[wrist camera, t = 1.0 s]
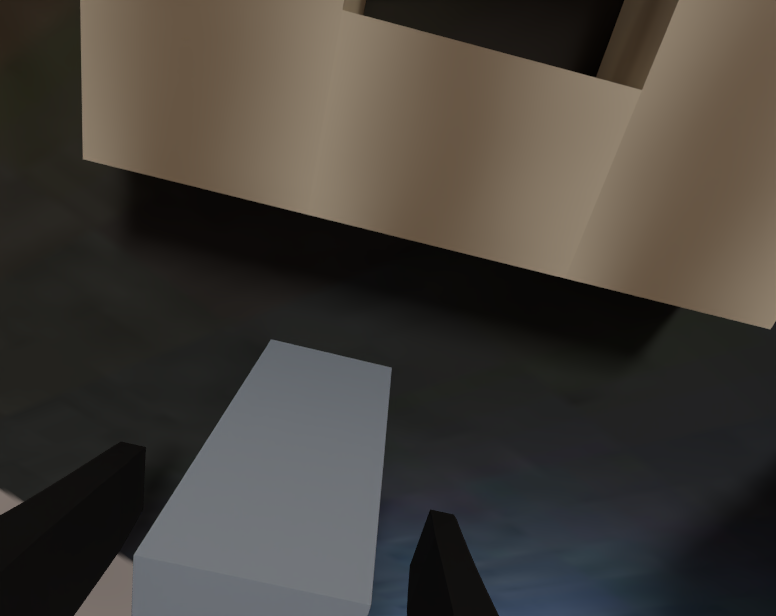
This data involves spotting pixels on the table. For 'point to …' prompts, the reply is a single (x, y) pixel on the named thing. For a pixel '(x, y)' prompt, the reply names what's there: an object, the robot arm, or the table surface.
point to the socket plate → (466, 134)
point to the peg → (276, 498)
